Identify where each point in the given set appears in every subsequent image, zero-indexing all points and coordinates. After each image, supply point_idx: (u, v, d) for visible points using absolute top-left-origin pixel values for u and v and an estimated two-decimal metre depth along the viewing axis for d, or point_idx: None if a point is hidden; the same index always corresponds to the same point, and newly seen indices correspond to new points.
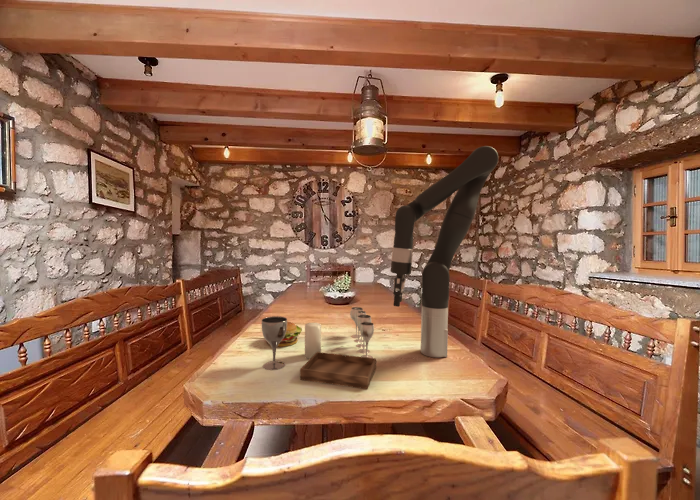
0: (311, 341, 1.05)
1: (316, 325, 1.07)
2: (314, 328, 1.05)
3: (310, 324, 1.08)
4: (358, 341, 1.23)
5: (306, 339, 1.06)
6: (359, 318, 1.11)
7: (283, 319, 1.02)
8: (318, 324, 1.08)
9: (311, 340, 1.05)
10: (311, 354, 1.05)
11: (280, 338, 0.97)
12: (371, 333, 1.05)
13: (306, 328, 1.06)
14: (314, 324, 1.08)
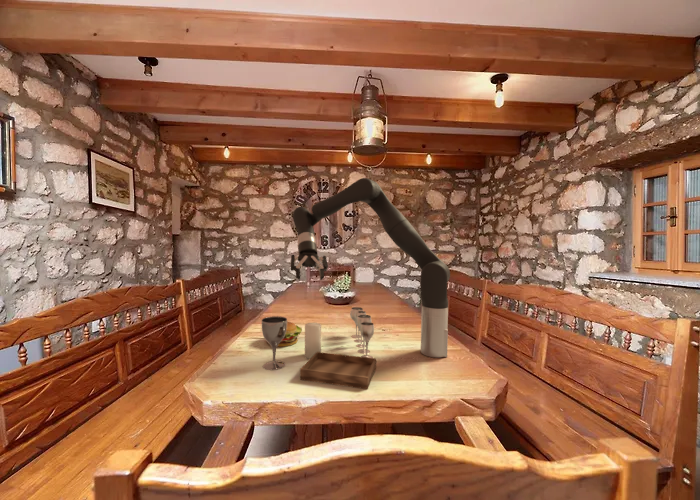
0: (311, 341, 1.05)
1: (316, 325, 1.07)
2: (314, 328, 1.05)
3: (310, 324, 1.08)
4: (358, 341, 1.23)
5: (306, 339, 1.06)
6: (359, 318, 1.11)
7: (283, 319, 1.02)
8: (318, 324, 1.08)
9: (311, 340, 1.05)
10: (311, 354, 1.05)
11: (280, 338, 0.97)
12: (371, 333, 1.05)
13: (306, 328, 1.06)
14: (314, 324, 1.08)
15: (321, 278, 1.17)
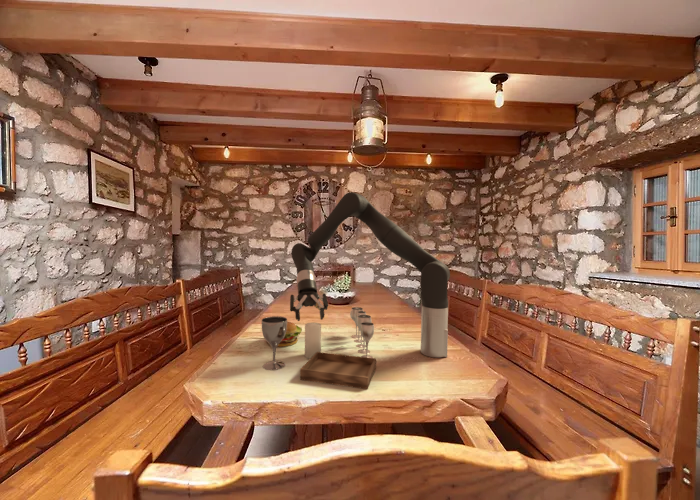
0: (311, 340, 1.05)
1: (316, 325, 1.07)
2: (314, 328, 1.05)
3: (310, 324, 1.08)
4: (358, 341, 1.23)
5: (306, 339, 1.06)
6: (359, 318, 1.11)
7: (283, 319, 1.02)
8: (318, 324, 1.08)
9: (311, 340, 1.05)
10: (311, 354, 1.05)
11: (280, 338, 0.97)
12: (371, 333, 1.05)
13: (306, 328, 1.06)
14: (315, 324, 1.08)
15: (321, 318, 1.15)
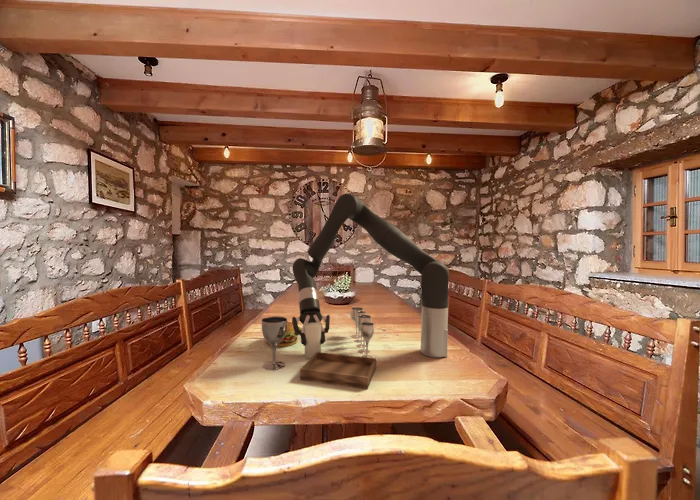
0: (311, 341, 1.05)
1: (316, 325, 1.07)
2: (314, 328, 1.05)
3: (310, 324, 1.08)
4: (358, 341, 1.23)
5: (306, 339, 1.06)
6: (359, 318, 1.11)
7: (283, 319, 1.02)
8: (318, 324, 1.08)
9: (311, 340, 1.05)
10: (311, 354, 1.05)
11: (280, 338, 0.97)
12: (371, 333, 1.05)
13: (306, 328, 1.05)
14: (314, 324, 1.08)
15: (322, 343, 1.07)
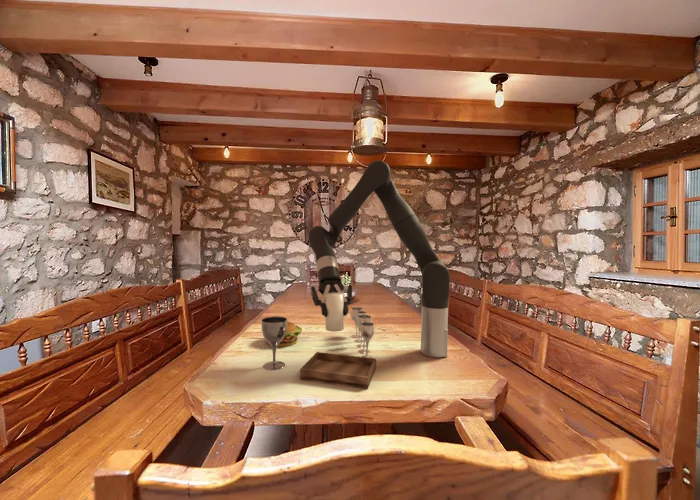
0: (333, 311, 0.94)
1: (338, 294, 0.96)
2: (336, 297, 0.93)
3: (331, 293, 0.97)
4: (358, 341, 1.23)
5: (327, 309, 0.95)
6: (359, 318, 1.11)
7: (283, 319, 1.02)
8: (340, 293, 0.97)
9: (333, 310, 0.94)
10: (333, 326, 0.94)
11: (280, 338, 0.97)
12: (371, 333, 1.05)
13: (327, 297, 0.94)
14: (336, 293, 0.97)
15: (345, 314, 0.95)
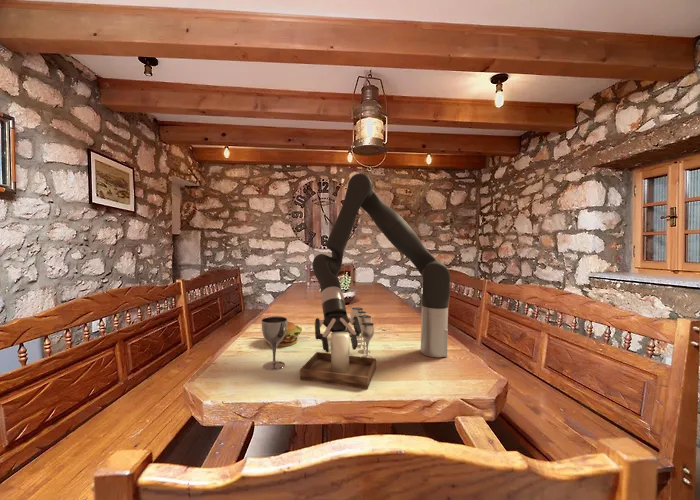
0: (339, 352, 0.91)
1: (344, 334, 0.93)
2: (342, 338, 0.91)
3: (337, 333, 0.94)
4: (358, 341, 1.23)
5: (333, 350, 0.92)
6: (359, 318, 1.10)
7: (283, 319, 1.02)
8: (346, 333, 0.94)
9: (339, 352, 0.91)
10: (339, 368, 0.91)
11: (280, 338, 0.97)
12: (371, 333, 1.05)
13: (332, 338, 0.92)
14: (342, 333, 0.95)
15: (354, 348, 0.93)
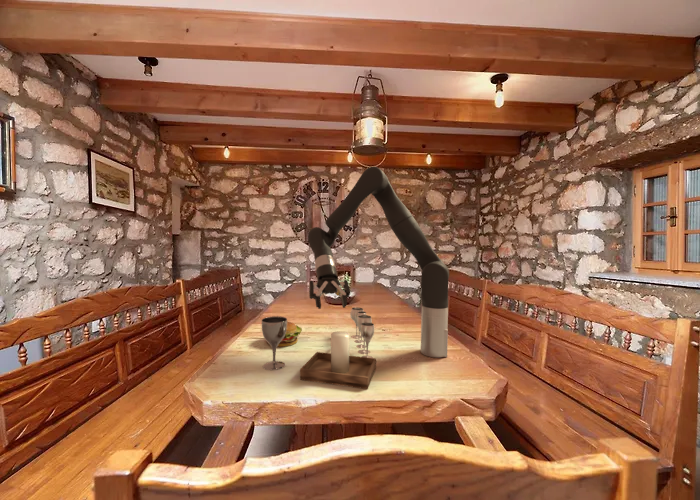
0: (339, 352, 0.91)
1: (344, 334, 0.93)
2: (342, 338, 0.91)
3: (337, 333, 0.94)
4: (358, 342, 1.22)
5: (333, 351, 0.92)
6: (359, 318, 1.10)
7: (283, 319, 1.02)
8: (346, 333, 0.94)
9: (339, 352, 0.91)
10: (339, 368, 0.91)
11: (280, 338, 0.97)
12: (371, 334, 1.05)
13: (333, 338, 0.92)
14: (342, 333, 0.94)
15: (344, 306, 1.05)
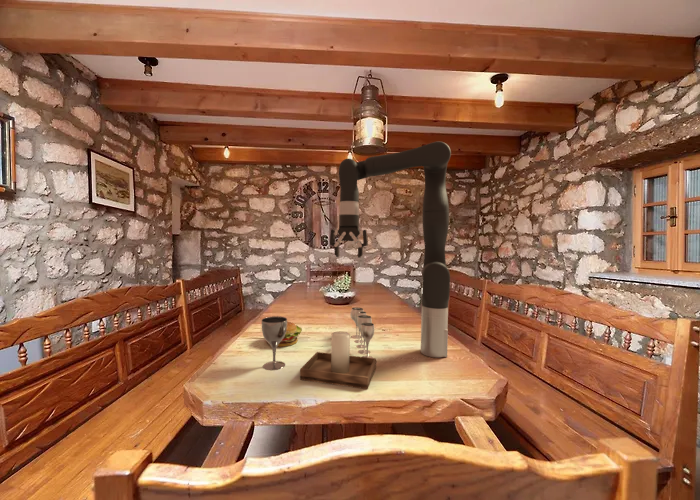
0: (339, 353, 0.91)
1: (345, 334, 0.93)
2: (342, 338, 0.91)
3: (337, 333, 0.94)
4: (358, 342, 1.22)
5: (333, 351, 0.92)
6: (359, 319, 1.10)
7: (283, 319, 1.02)
8: (346, 333, 0.94)
9: (339, 352, 0.91)
10: (339, 368, 0.91)
11: (280, 338, 0.97)
12: (371, 334, 1.05)
13: (333, 338, 0.92)
14: (342, 333, 0.94)
15: (359, 257, 1.16)
